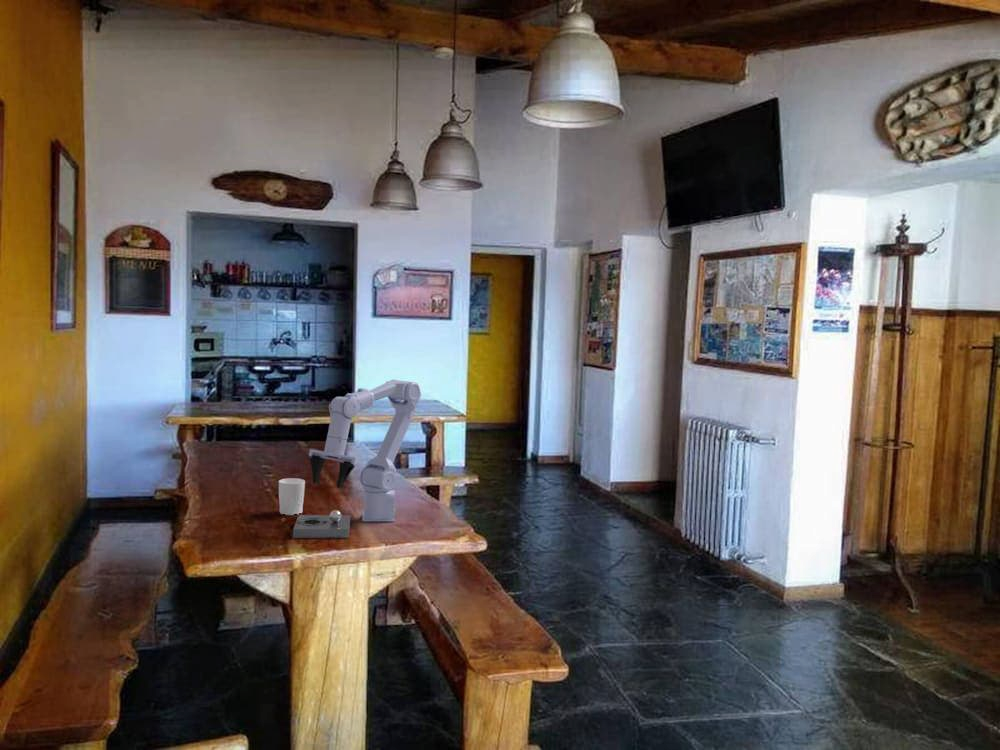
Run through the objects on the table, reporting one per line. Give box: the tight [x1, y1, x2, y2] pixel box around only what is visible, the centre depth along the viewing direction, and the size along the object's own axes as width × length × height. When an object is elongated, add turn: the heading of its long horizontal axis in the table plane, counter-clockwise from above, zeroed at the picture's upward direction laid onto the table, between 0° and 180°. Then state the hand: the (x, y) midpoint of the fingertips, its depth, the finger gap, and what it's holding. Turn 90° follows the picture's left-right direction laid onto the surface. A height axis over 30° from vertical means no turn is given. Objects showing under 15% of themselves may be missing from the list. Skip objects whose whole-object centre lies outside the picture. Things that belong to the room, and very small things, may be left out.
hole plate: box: [292, 514, 351, 539], centre depth 215 cm, size 15×15×2 cm
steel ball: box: [329, 509, 343, 522], centre depth 215 cm, size 3×3×3 cm
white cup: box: [278, 477, 306, 516], centre depth 232 cm, size 8×8×10 cm
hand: (327, 485), depth 213 cm, fingers open, 7 cm apart
